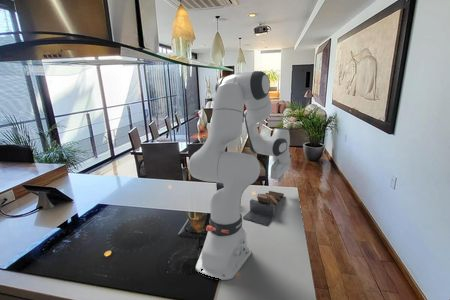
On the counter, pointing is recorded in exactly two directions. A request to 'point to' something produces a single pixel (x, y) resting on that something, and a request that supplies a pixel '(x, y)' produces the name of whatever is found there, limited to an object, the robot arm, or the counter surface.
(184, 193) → the counter surface
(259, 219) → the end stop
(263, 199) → the tile
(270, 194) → the tile
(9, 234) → the counter surface
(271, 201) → the tile
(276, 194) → the end tile
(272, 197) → the tile
